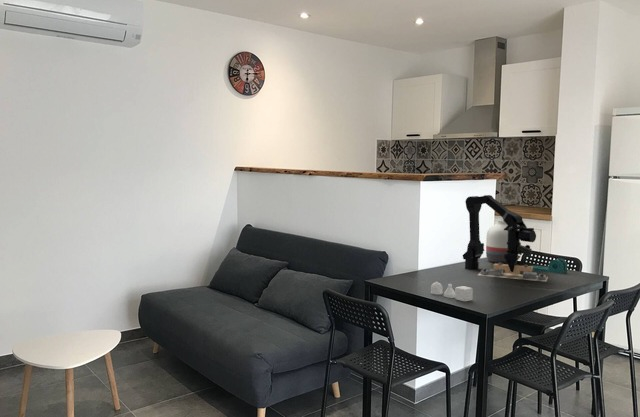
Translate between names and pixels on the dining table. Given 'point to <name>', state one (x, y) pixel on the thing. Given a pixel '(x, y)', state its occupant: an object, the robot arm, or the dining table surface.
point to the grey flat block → (533, 275)
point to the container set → (453, 292)
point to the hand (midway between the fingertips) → (512, 271)
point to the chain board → (513, 276)
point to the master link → (516, 268)
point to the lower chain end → (492, 272)
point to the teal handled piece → (553, 267)
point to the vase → (497, 242)
